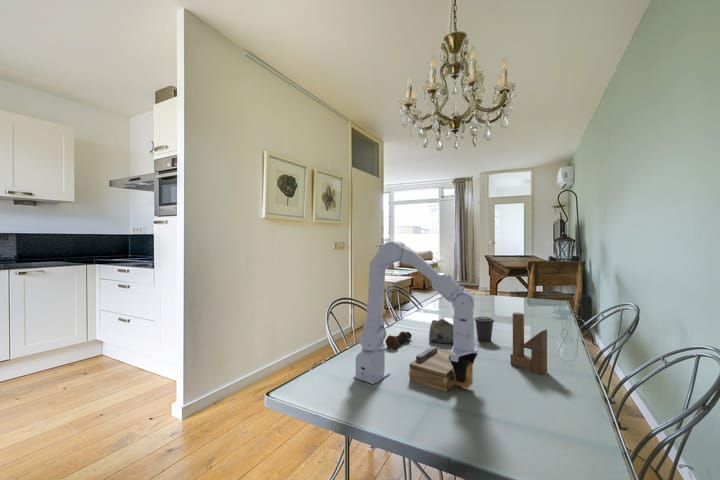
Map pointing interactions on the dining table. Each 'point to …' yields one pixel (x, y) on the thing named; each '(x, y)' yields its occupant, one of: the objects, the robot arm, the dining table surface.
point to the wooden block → (528, 347)
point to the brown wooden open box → (431, 379)
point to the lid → (434, 362)
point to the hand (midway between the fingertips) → (463, 378)
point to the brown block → (468, 377)
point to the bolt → (397, 339)
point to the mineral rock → (441, 331)
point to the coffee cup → (484, 328)
